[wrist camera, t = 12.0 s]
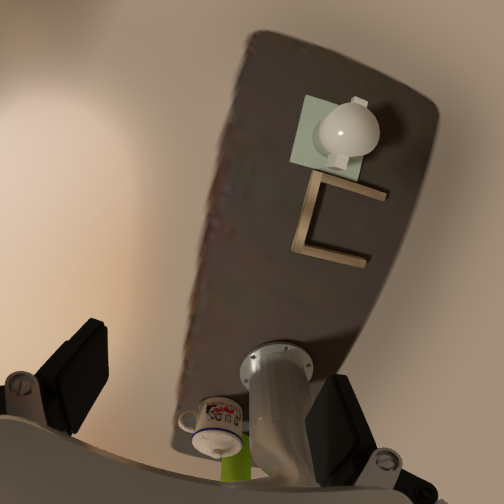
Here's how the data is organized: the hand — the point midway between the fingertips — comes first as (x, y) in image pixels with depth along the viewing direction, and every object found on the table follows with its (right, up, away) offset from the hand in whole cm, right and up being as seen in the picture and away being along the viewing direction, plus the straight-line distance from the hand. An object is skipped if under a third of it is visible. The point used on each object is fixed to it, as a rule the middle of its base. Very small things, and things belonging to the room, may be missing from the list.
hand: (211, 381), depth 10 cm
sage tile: (+13, +21, +25) cm, 35 cm away
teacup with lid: (-6, -25, +39) cm, 47 cm away
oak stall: (+14, +10, +29) cm, 33 cm away
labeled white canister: (+13, +21, +25) cm, 35 cm away
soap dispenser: (-1, -36, +42) cm, 55 cm away
